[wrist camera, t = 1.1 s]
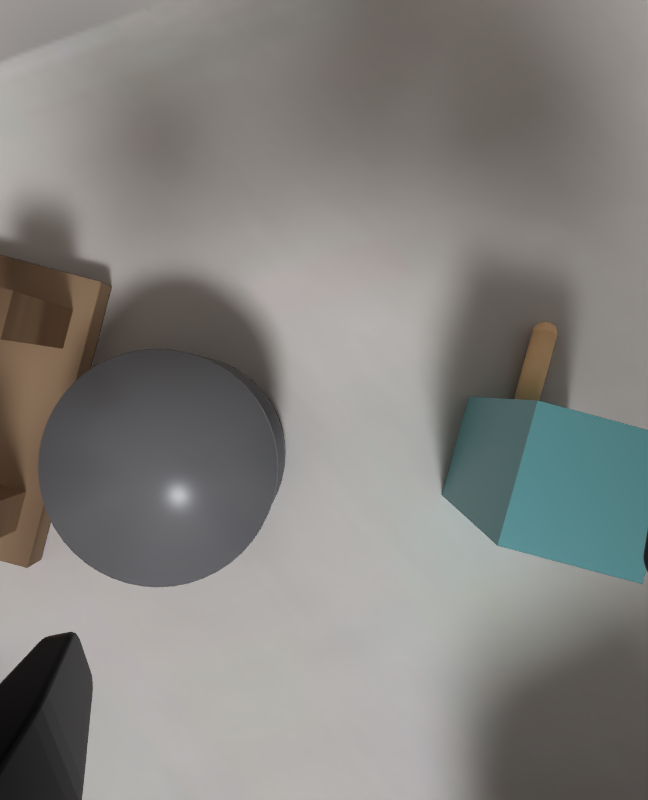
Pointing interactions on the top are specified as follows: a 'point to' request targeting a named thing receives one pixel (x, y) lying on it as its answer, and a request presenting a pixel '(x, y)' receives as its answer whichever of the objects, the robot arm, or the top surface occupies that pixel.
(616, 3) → the top surface
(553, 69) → the top surface
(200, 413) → the spool
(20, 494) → the notch board
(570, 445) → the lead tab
